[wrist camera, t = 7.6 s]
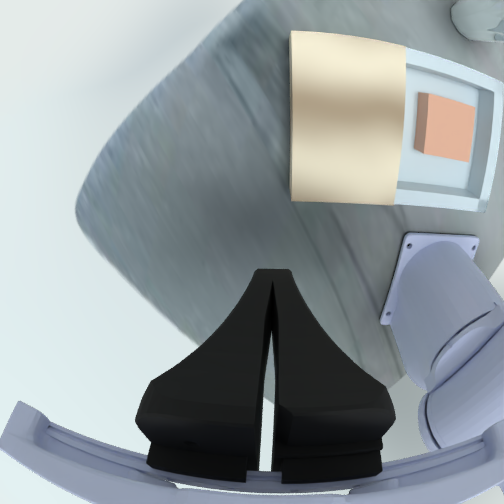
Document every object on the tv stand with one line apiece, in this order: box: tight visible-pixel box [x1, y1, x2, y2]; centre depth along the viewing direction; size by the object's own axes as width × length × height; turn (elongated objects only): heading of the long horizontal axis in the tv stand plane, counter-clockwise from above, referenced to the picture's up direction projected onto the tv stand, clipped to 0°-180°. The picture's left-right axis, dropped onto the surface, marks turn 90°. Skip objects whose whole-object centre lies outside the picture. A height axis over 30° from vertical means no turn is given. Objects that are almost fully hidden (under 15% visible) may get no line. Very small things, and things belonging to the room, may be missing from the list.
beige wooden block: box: [289, 31, 406, 206], centre depth 15 cm, size 10×6×2 cm, turn 2°
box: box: [394, 48, 504, 213], centre depth 15 cm, size 10×8×2 cm
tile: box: [414, 92, 475, 163], centre depth 14 cm, size 4×4×2 cm
